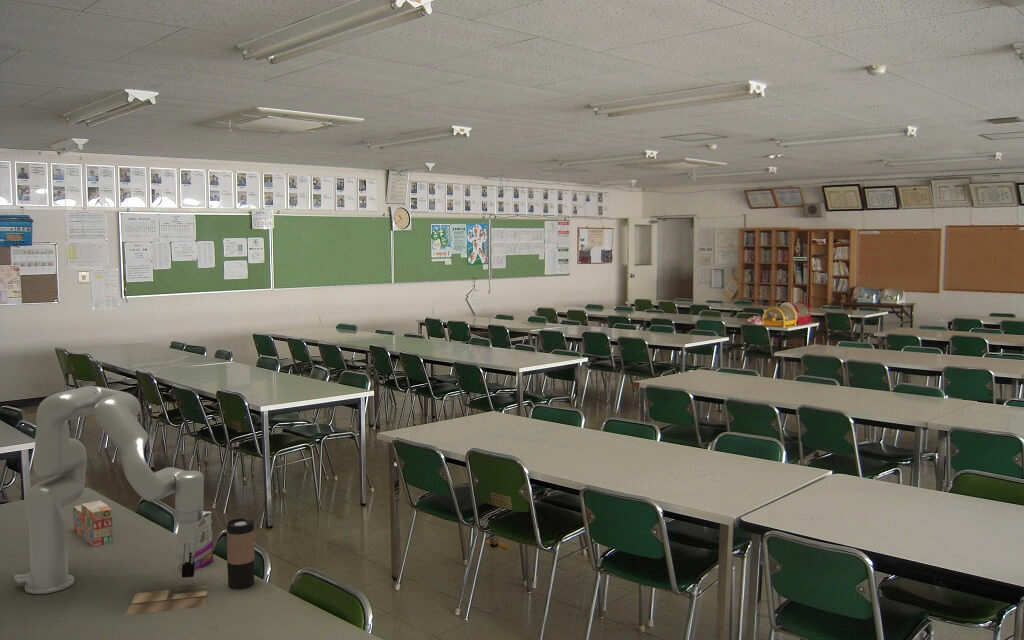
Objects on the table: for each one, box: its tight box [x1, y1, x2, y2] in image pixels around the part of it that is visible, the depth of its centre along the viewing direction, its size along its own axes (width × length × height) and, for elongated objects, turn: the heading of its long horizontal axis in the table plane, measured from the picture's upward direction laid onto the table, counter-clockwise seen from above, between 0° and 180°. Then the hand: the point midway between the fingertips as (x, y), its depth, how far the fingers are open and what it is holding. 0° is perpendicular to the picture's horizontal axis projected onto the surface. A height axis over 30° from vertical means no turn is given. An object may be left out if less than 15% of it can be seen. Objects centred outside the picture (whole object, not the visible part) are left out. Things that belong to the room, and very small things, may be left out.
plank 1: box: [130, 589, 170, 604], centre depth 222 cm, size 9×7×1 cm
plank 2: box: [172, 585, 209, 599], centre depth 225 cm, size 9×7×1 cm
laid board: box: [125, 595, 208, 616], centre depth 217 cm, size 20×7×1 cm, turn 107°
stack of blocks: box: [72, 499, 113, 548], centre depth 272 cm, size 21×6×12 cm, turn 45°
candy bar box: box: [177, 510, 214, 571], centre depth 246 cm, size 11×5×16 cm, turn 168°
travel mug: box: [226, 517, 256, 590], centre depth 231 cm, size 8×8×20 cm
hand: (188, 576), depth 227 cm, fingers closed
